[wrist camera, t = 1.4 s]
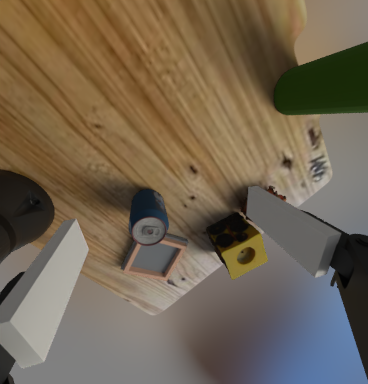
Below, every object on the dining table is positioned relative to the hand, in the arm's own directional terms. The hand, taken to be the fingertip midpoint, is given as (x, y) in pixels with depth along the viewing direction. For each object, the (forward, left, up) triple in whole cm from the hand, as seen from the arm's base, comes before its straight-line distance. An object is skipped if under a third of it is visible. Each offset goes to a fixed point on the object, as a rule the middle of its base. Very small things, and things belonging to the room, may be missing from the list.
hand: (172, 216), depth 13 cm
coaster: (+10, -23, -25) cm, 35 cm away
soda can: (+3, -10, -25) cm, 27 cm away
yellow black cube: (+27, -11, -25) cm, 38 cm away
